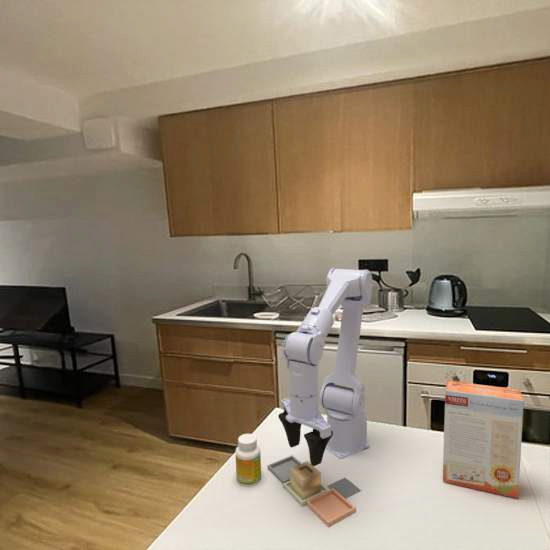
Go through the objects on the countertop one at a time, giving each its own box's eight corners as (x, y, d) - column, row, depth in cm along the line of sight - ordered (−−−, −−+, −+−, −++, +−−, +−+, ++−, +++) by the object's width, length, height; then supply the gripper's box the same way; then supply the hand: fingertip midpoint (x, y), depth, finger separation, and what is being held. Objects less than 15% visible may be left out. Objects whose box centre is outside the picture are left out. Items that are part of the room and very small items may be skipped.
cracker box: (514, 481, 84) (521, 388, 81) (518, 500, 79) (525, 401, 76) (442, 466, 90) (446, 378, 87) (441, 482, 85) (445, 389, 82)
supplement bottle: (258, 489, 84) (256, 446, 83) (233, 486, 85) (231, 444, 84) (263, 473, 89) (262, 432, 88) (240, 470, 90) (238, 430, 89)
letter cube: (307, 480, 86) (307, 460, 85) (320, 492, 82) (320, 472, 82) (290, 488, 84) (290, 468, 83) (303, 500, 80) (302, 480, 79)
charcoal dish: (292, 459, 94) (292, 455, 94) (309, 474, 88) (309, 470, 88) (267, 469, 90) (267, 465, 90) (283, 486, 85) (283, 481, 85)
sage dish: (308, 476, 88) (308, 472, 87) (328, 494, 82) (328, 489, 82) (283, 488, 84) (282, 483, 84) (301, 507, 78) (301, 502, 78)
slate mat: (345, 478, 87) (345, 477, 87) (361, 491, 82) (361, 490, 82) (327, 487, 84) (327, 486, 84) (343, 501, 80) (343, 500, 80)
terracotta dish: (332, 492, 82) (332, 488, 82) (355, 513, 77) (355, 508, 76) (306, 506, 79) (306, 501, 79) (328, 528, 73) (328, 523, 73)
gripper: (268, 384, 84) (270, 443, 86) (309, 411, 72) (310, 480, 74) (295, 376, 87) (296, 433, 89) (339, 401, 75) (339, 467, 77)
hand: (304, 454), depth 82 cm, fingers open, 7 cm apart
